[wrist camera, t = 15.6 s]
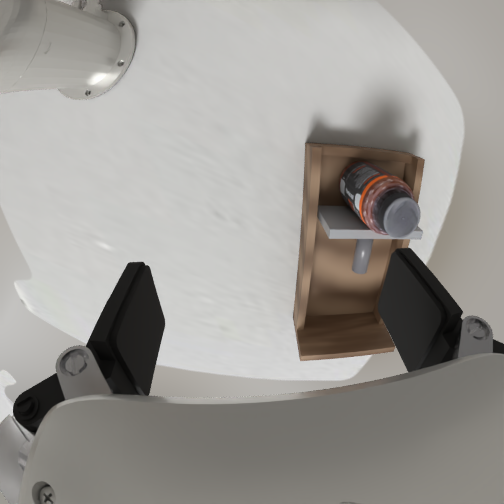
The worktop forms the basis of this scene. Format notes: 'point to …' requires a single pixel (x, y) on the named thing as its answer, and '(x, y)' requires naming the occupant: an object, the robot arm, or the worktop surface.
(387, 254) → the pusher lane
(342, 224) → the pusher plate
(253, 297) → the worktop surface
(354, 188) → the supplement bottle
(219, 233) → the worktop surface
